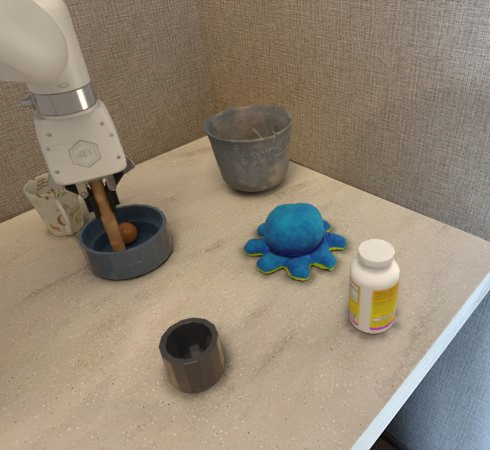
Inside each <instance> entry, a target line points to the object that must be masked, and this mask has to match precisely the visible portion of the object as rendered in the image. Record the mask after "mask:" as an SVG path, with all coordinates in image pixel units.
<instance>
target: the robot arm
mask: <svg viewBox="0 0 490 450" xmlns="http://www.w3.org/2000/svg"><path fill="white" fill-rule="evenodd" d="M0 82H10V83H19V84H20V83H21V84H26V86H27V89H28V91H29V92H28V93H27V95H24V96H22V97H18V98H19V102H20V105H21V106H22V109H26V108H30V109H33V110H36V111H35V112H34V114H33V117H32V118H33V125H34V129H35V133H36V137H37V140H38V143H39V146H40V149H41V153H42V156H43V158H44V160H45V163H46V166H47V169H48V173H49V174H48V187H49V188H50V189H61V190H63V189H66V190H68V191H70V192H73V193H75V194H78V196H79V198H82V200H83V201H84V204H85V207H86V208H87V212H88V214H91V213H93V214H94V217H96V219H98V218H100V217H101V216H100V213H99V210H98V207H97V205H96V202H95V199H94V196H93V193H92V191H91V189H90V186H88V185H87V184H86V182H88V181H89V180H92V179H96V178H103V177H104V179H105V181H104V186H105V190H106V193H107V196H108V199H109V202H110V205H111V208H112V211H113V213H118V210H117V207H118V206H121V202H120V199H119V195H118V192H117V188H118V187H117V186H118V185H119V183H120V182H121V180H122V178H123V177H124V176H125V175H127V174H128V173H130V172H131V171H132V170H134V169H135V168H136V164H135V162H134V160H132V158H131V157H130V156H129V155H128V154H127V153H126V152H125V150H124V147H123V145H122V142H121V139H120V135H119V133H118V131H117V128H116V125H115V123H114V121H113V118H112V117H111V114H110V112H109V110H108V108H107V106H106V105H105V103H104V102H103V101H102V100H101V99H98V98H97V96H96V93H95V89H94V86H93V84H92V80H91V77H90V74H89V70H88V66H87V64H86V60H85V58H84V55H83V52H82V48H81V45H80V42H79V39H78V36H77V33H76V30H75V27H74V22H73V20H72V17H71V13H70V11H69V8H68V6H67V4H66V2H65V1H64V0H0Z"/></svg>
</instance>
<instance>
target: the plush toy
mask: <svg viewBox="0 0 490 450" xmlns="http://www.w3.org/2000/svg"><path fill="white" fill-rule="evenodd" d="M256 231H257V235H258V237H259V238H251V239H249V240H248V241H247V242H246V243H245V244H244V247H243V252H244V253H245V255H246V256H248V257H251V256H252V257H257V256H260V258H258V259H257V261H256V265H255V266H256V269H257V270H258V271H259V272H261V273H263V274H265V275H268V274H272V273H273V272H276V271H278V270H280V269H284V270H285V272H286V273H287V275H288V276H289V277H290V278H291V279H294V280H297V281H299V280H300V281H301V282H303V281H304V282H305V281H308V280H309V279H310V278H311V276H312V272H311V266H315V267H318V268H319V269H321V270H328V271H333V270H334V268H335V267H336V265H337V258H336V257H335V255H334V254H333V252H332V251H335V250H342V251H343V250H345V249H346V248H347V247H348V242H347V239H346V238H345V236H342V235H340V234H338V233H335V232H334V233H333V232H331V231H332V226H331V224H330V222H329V221H327V220H325V219H324V218H323V216H322V213H321V212H320V210H319V209H318V208H317V207H316V206H314V205H313V204H311V203H308V202H297V203H282V204H279V205H276V206H275V207H274V208H273V209H272V210H271V211H270V212H269V214H268V215H267V216H266V219H265V221H264V222H263V223H261V224H259V225H258V226H257V229H256Z"/></svg>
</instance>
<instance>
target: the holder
mask: <svg viewBox="0 0 490 450" xmlns="http://www.w3.org/2000/svg"><path fill="white" fill-rule="evenodd" d="M222 348H223V347H222V343H221V338H220V334H219V331H218V329H217V327H216V324H214V323H213V322H211V321H210V320H208V319H206V318H202V317H188V318H184V319H180V320H179V321H177V322H175V323H174V324H172V325H170V326H168V327H167V329H166V330H165V331H164V333H163V334H162V335H161V336H160V340H159V343H158V350H159V354H160V356H161V359H162V361H163V365H164V367H165V370H166V372H167V376H168V378H169V382H170V383H171V385H172V387H173V388H175V389H176V390H177V391H178V392H181V393H184V394H199V393H202V392H205V391H208V390H210V389H211V388H212V387H213V386H214V385H216V384H217V383H218V382H219V380H220V379H221V377H222V376H223V374H224V371H225V357H224V353H223V351H224V350H223V349H222Z"/></svg>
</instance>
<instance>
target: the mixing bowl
mask: <svg viewBox="0 0 490 450" xmlns="http://www.w3.org/2000/svg"><path fill="white" fill-rule="evenodd" d="M116 207H117V210H118V213H114V215H115V218H116V221H117V224H120V223H123V222H128V223H131V224H133V225H134V226H135V227H136V229H137V233H138V234H137V238H136V240H135V241H134V242H132V243H130V244H126V245H125V247H126V250H124V251H116V252H113V249H112V247H111V244H110V241H109V238H108V236H107V233H106V230H105V227H104V225H103V222H102V219H101V217H100V218H98V219H96V217H95V216H94V217H93V216H92V218H91V219H89V220H88V221H86V223H84V225H83V227H82V228H81V229H80V230H79V233H78V235H77V241H78V245H79V247H80V250H81V252H82V255H83V256H84V259H85V261H86V264H87V266H88V269H89V270H90V271H91V272H92V273H93V274H94V275H95V276H97V277H100V278H103V279H105V280H118V281H120V280H127V279H133V278H136V277H139V276H143V275H145V274H147V273H150V272H151V271H153V270H154V269H156V268H158V267H160V265H162V264H163V263H164V262H165V261H166V260H167V259H168V257H169V256H170V254H171V253H172V251H173V239H172V235H171V230H170V228H169V224H168V220H167V217H166V215H165V213H164V212H163V211H162V210H161V209H160V208H159V207H157V206H153V205H149V204H147V203H146V204H145V203H144V204H143V203H133V204H125V205H118V206H116Z"/></svg>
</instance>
